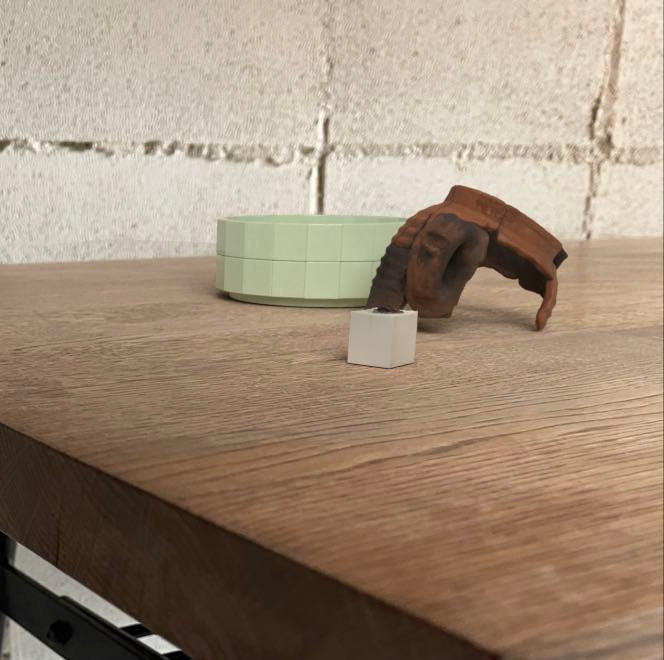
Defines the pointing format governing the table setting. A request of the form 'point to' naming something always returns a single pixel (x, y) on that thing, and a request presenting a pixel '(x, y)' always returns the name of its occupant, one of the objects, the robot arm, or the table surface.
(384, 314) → the white cube
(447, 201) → the ram-horned helmet
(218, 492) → the table surface
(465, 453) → the table surface
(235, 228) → the bowl
